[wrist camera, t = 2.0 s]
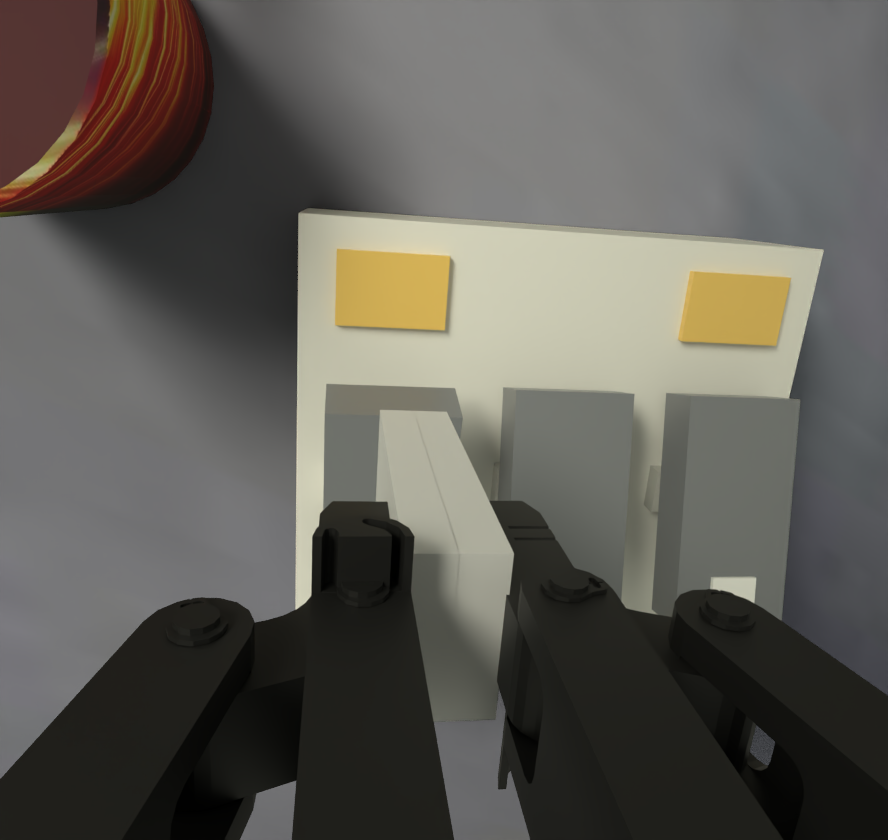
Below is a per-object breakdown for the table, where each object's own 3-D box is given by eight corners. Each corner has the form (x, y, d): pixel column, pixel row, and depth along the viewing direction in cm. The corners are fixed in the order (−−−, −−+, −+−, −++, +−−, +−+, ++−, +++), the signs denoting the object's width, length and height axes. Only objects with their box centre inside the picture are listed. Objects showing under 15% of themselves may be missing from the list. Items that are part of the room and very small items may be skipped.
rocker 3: (666, 392, 25) (693, 395, 23) (768, 396, 25) (803, 399, 24) (651, 609, 26) (676, 630, 24) (751, 607, 26) (783, 627, 24)
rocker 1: (326, 383, 21) (324, 416, 20) (455, 388, 22) (463, 420, 20) (323, 576, 25) (321, 617, 24) (431, 575, 26) (437, 615, 24)
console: (307, 208, 27) (297, 213, 21) (733, 238, 30) (837, 251, 24) (303, 606, 33) (293, 706, 26) (662, 601, 35) (731, 690, 29)
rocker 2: (503, 387, 24) (517, 390, 22) (613, 390, 25) (636, 394, 23) (492, 611, 25) (505, 633, 23) (599, 610, 25) (621, 631, 23)
